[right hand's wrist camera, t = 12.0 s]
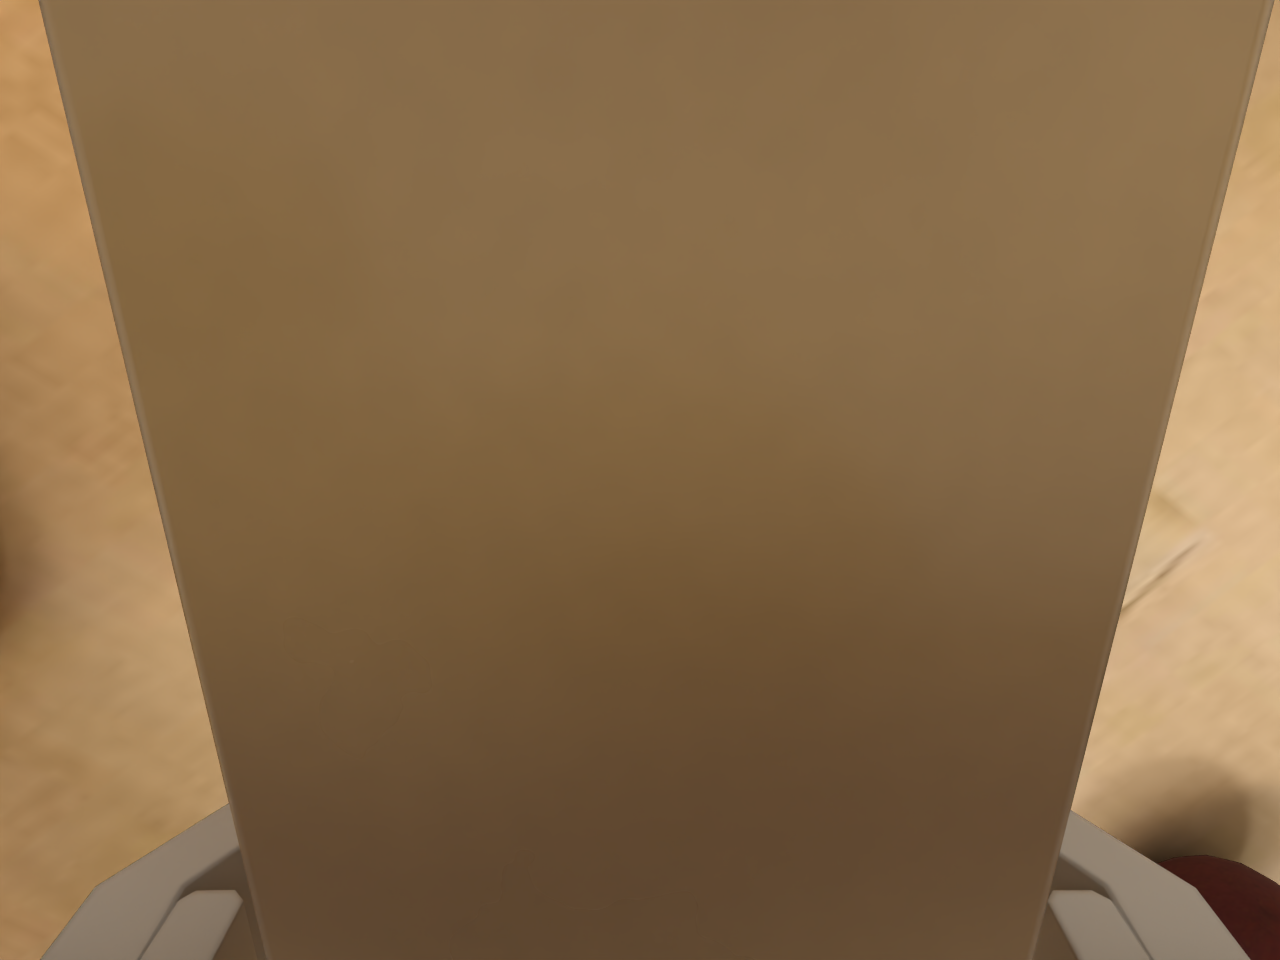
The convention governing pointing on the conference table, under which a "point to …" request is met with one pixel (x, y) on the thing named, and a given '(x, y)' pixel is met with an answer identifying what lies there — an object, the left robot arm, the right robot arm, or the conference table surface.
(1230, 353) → the conference table surface
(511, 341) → the bar
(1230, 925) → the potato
